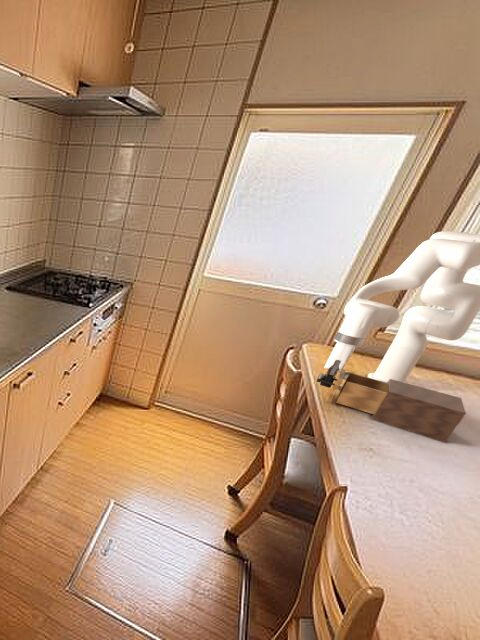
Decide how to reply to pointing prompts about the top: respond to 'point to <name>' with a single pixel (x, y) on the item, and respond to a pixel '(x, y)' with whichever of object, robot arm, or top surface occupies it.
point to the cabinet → (420, 410)
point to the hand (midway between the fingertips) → (325, 385)
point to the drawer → (358, 391)
